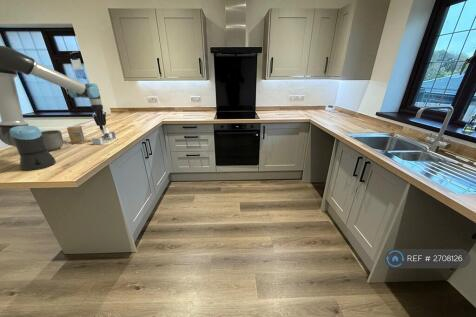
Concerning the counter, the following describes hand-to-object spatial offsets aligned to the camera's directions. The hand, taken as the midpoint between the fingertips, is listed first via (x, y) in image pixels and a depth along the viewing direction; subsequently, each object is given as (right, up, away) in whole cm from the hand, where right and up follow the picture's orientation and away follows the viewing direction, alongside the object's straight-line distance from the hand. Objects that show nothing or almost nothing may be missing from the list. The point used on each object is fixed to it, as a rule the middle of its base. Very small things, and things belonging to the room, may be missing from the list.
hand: (103, 133), depth 162 cm
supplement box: (-20, -8, -2) cm, 21 cm away
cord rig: (0, -7, +2) cm, 7 cm away
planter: (-24, -15, -18) cm, 34 cm away
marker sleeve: (0, -4, +5) cm, 7 cm away
